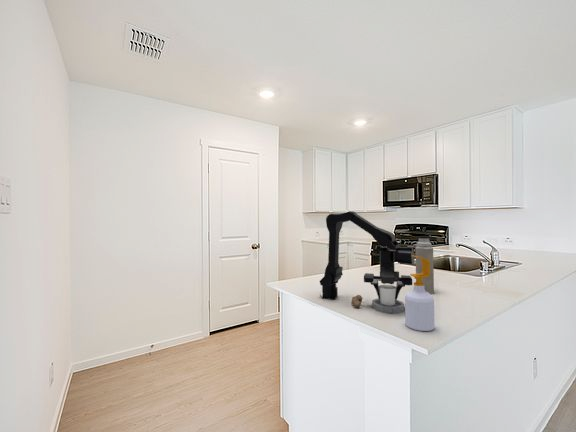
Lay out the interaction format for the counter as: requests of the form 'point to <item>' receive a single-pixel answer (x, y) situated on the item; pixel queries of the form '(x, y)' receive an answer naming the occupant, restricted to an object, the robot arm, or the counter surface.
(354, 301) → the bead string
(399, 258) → the robot arm
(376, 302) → the tray
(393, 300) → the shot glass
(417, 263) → the thermos bottle
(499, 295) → the counter surface
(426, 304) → the soap bottle
